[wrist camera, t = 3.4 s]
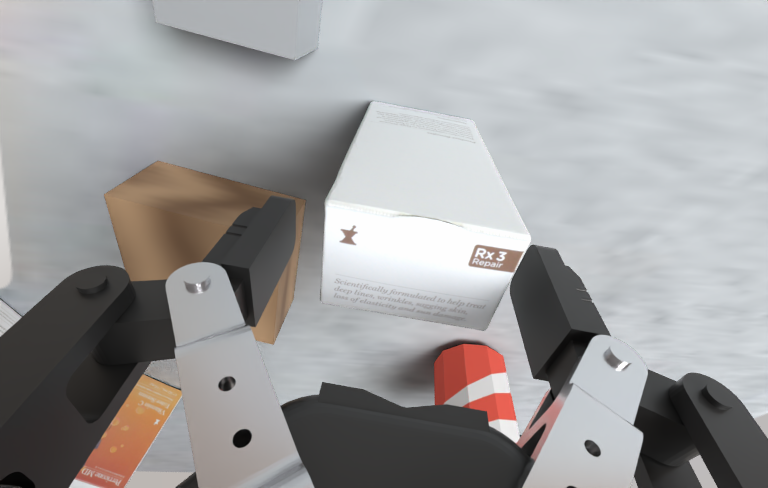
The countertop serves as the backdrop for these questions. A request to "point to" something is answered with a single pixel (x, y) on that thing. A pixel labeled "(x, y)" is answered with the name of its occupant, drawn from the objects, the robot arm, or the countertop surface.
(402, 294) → the skincare box
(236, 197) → the tan block
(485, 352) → the beverage can
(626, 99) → the countertop surface
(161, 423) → the small box
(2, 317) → the supplement box
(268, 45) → the light gray block
